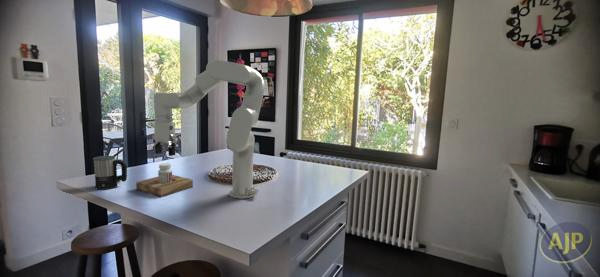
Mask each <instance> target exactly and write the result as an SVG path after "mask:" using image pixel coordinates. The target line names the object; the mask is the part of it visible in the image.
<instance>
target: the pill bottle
mask: <svg viewBox="0 0 600 277" xmlns="http://www.w3.org/2000/svg"><path fill="white" fill-rule="evenodd" d="M158 168H159V170H158V171H157V173H158V175H157V177H158V180H159V183H161V184H166V183H169V182H172V175H173V170H172V164H171V163H170V162H169V163H168V162H162V163H159V166H158Z"/></svg>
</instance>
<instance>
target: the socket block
mask: <svg viewBox="0 0 600 277" xmlns="http://www.w3.org/2000/svg"><path fill="white" fill-rule="evenodd" d="M135 185H136V191H139V192H142V193H145V194H148V195H151V194H152V195H153V196H154V197H155V196H156V197H159V198H163V197H167V196H169V195H173V194H177V193H178V192H179V193H180V192H182V191H186V190H189V189H191V188H192V189H193V187H194V180H193V179H191V178H187V177H184V176H179V175H175V174H172V182H169V183H166V184H161V183H159V180H158V176H154V177H150V178H146V179H143V180H138V181H136V182H135Z"/></svg>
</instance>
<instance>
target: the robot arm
mask: <svg viewBox="0 0 600 277" xmlns="http://www.w3.org/2000/svg"><path fill="white" fill-rule="evenodd" d="M194 80H195V83H194V84H193V85H192V86H191V87H190V88H188V89H187V90H185V91H184V92H155V93H154V94H153V106H154V107H153V108H154V109H153V110H154V129H153V130H154V134H152V135H151V137H152V141H153V144H154V147H155V149H154V151H155V154H157V155H158V154H162V153H163V149H162V148H163V147H162V146H163V145H162V144H167V145H168V156H169V157H172V156H176V146H177V144H178V141H179V139H178V138H177V136H176V129H175V124H174V122H173V110H177V109H178V110H180V109H188V108H191V107H192V106H194V105H195V104H197V103H198V102H199V101H202V99H203V98H204V97H206V95H207V94H208V93H209V92H211V91H212V90H213V89H215V88H217V87H218V86H220V85H221V84H223V83H224V82H227V83H232V84H237V85H242V86H245V87H246V89H245V92H244V94H243V99H242V103H241V105H240V107H237V108H235V110H234V111H233V113H232V115H231V118H230V121H229V126H228V130H227V134H226V139H225V140H226V141H225V142H226V146H227V148H228V150H229V151H231V152H232V173H231V174H232V189H231V190H230V191H229V192H228V195H229V197H230V198H233V199H249V198H252V197H254V196H257V195H258V193H259V189H257V188H255V185H254V184H253V183H254V152H255V144H256V142H255V140H256V139H255V135H254V133H253V132H252V127H253V126H255V125H256V124H257V123H258V120H259V116H260V112H261V109H262V108H261V107H262V103H263V99H264V98H263V97H264V95H265V88H266V87H265V81H264V78H263V77H262V75H261V73H260V72H259V71H257V69H255V68H253V67H251V66H249V65H245V64H242V63H237V62H232V61H227V60H223V59H222V60H221V59H218V58H216V59H211V60H210V61H209V62H208V63H207V64H206V66H205V70H204V71H203V72H201V73H199V74H198V75H196V76H195V77H194Z"/></svg>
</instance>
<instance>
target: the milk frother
mask: <svg viewBox="0 0 600 277" xmlns="http://www.w3.org/2000/svg"><path fill="white" fill-rule="evenodd" d="M92 160H93V167H94V183H95V187H94V189H95V188H97V189H96V190H98V189H104V190H109V189H110V188H111V189H114V188H116V187H118V183H119V182H120V181H121V182H123V183H124V182H126V181H127V179H128V164H127V162H126V161H125V160H123V159H117V158H116V156H115V155H102V156H101V155H100V156H95V157H93V158H92ZM117 165H120V166H121V175H120V174H119V175H118V171H117V168H118V167H117Z"/></svg>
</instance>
